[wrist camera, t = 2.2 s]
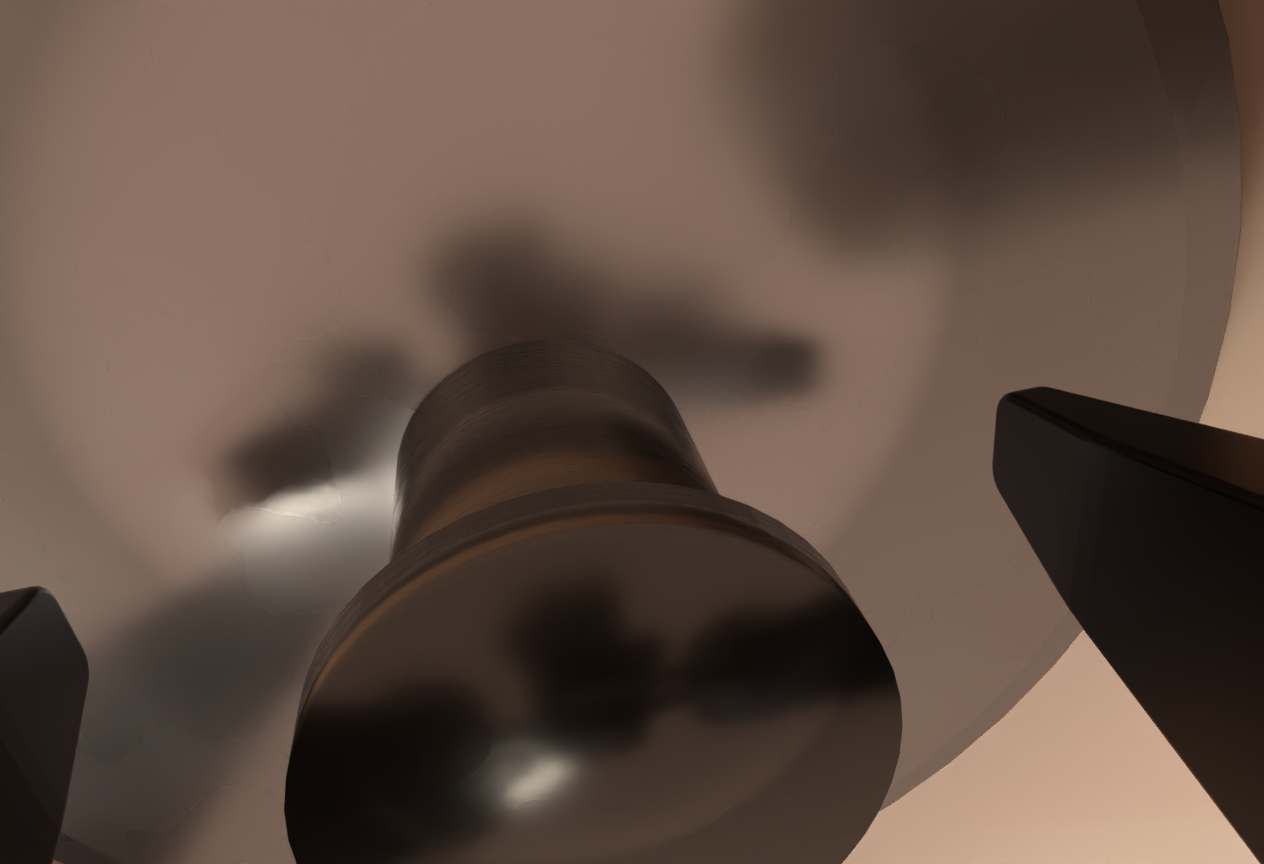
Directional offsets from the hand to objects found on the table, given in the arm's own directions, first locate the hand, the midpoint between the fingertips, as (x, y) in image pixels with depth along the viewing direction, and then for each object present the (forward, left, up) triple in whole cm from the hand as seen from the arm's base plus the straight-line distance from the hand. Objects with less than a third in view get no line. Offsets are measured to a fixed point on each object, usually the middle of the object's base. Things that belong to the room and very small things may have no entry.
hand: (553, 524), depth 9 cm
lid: (0, 0, -2) cm, 2 cm away
